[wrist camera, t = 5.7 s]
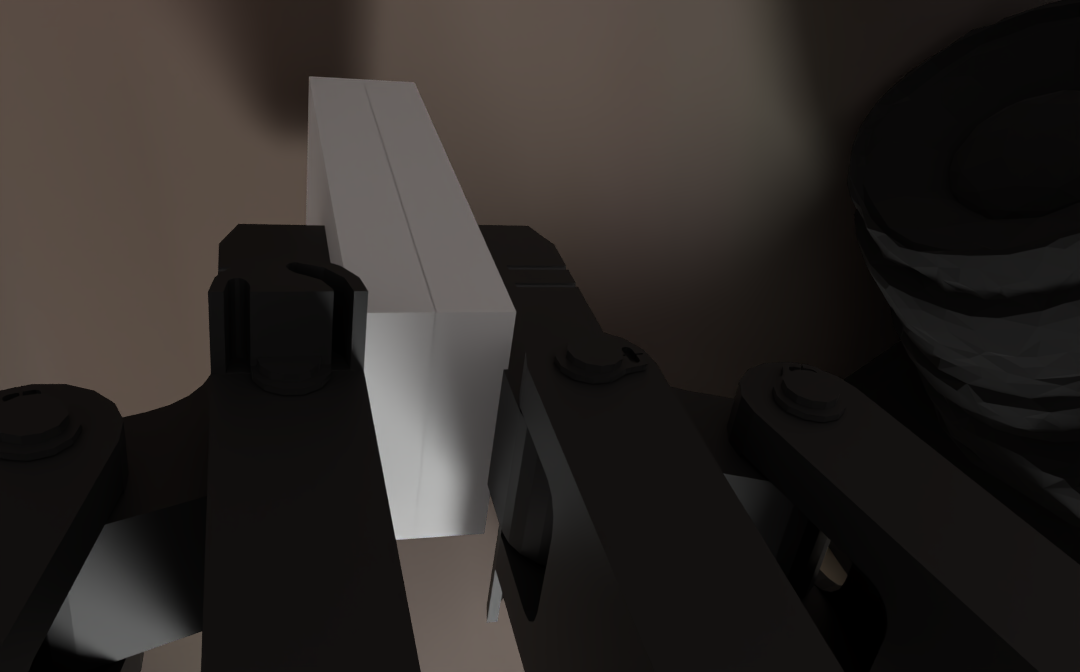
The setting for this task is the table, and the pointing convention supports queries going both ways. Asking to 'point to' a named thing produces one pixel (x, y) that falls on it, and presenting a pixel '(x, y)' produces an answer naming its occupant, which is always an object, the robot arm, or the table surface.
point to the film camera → (983, 260)
